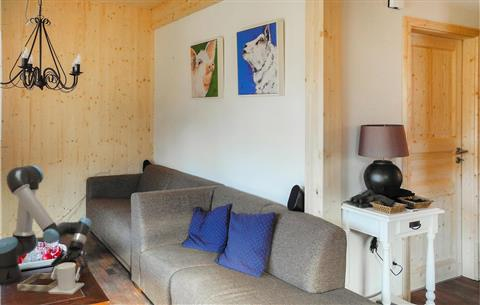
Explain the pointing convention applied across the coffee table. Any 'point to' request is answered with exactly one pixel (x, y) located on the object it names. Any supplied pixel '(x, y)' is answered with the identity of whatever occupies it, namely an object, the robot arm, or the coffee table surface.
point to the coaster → (70, 291)
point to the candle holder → (66, 275)
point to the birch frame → (43, 288)
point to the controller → (70, 261)
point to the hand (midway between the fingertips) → (64, 279)
